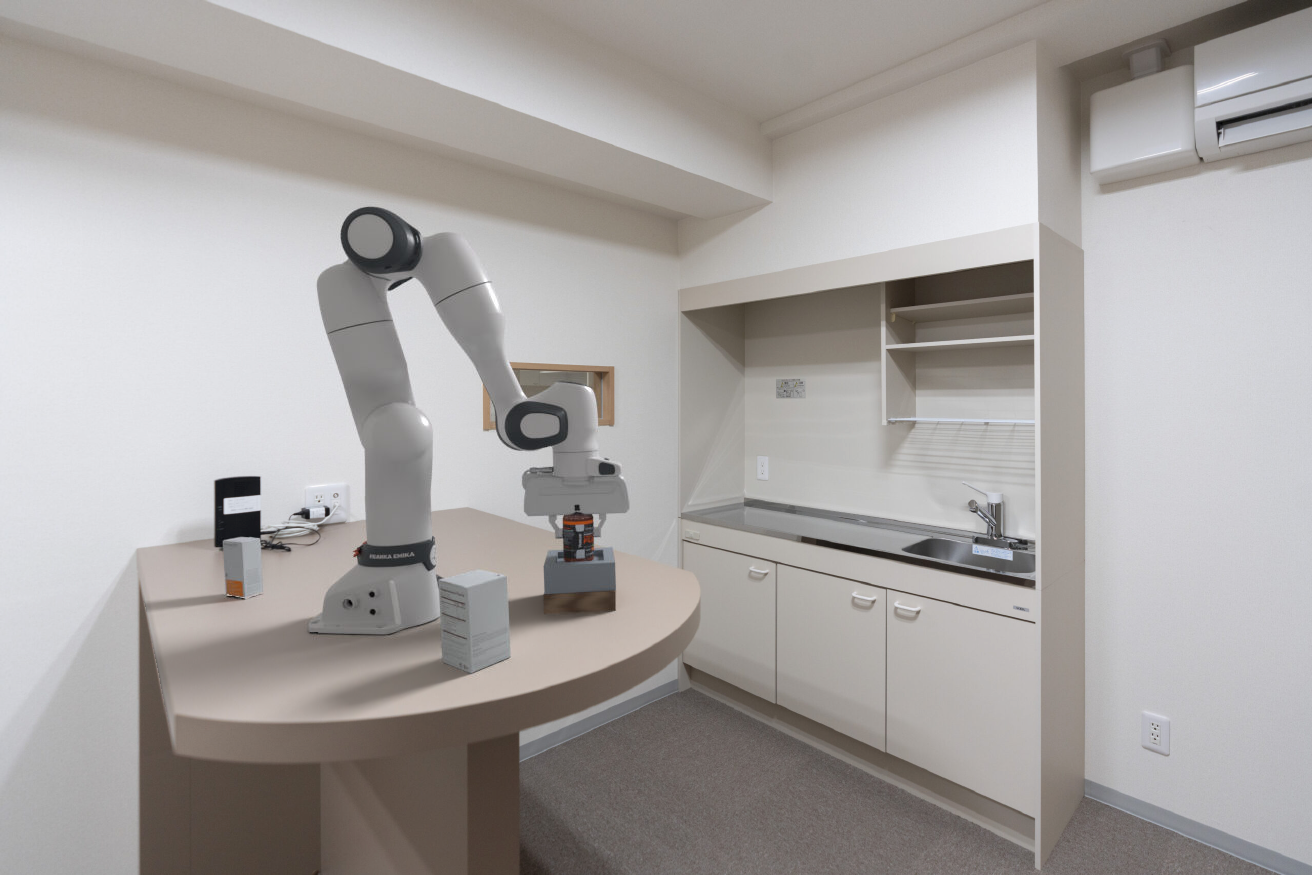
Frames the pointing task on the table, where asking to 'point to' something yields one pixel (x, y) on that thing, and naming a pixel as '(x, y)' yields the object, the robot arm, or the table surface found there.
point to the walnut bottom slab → (580, 602)
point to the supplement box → (474, 619)
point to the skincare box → (243, 566)
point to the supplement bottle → (578, 536)
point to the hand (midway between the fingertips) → (578, 537)
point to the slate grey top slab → (579, 573)
